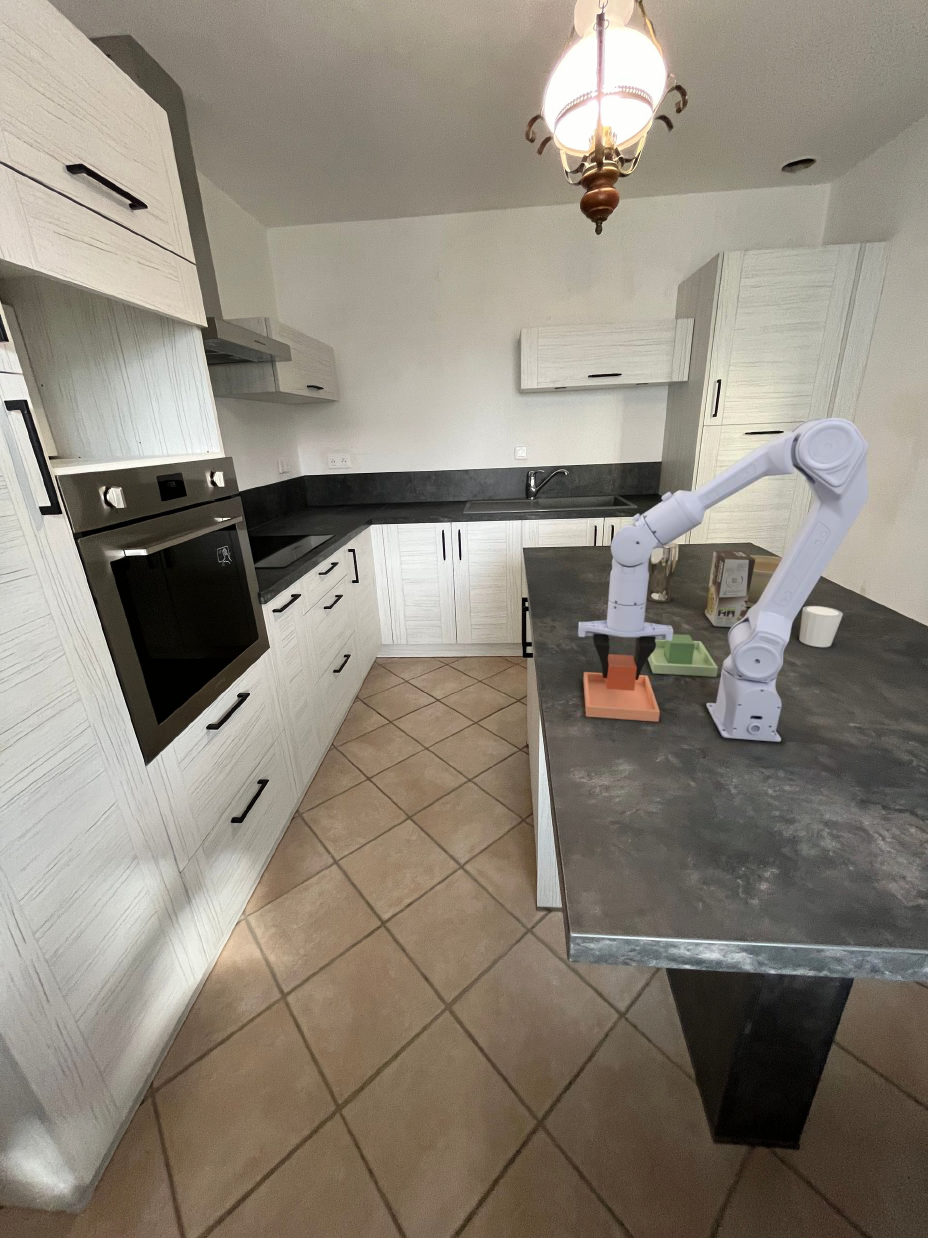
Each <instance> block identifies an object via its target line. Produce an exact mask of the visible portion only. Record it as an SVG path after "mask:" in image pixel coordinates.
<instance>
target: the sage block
mask: <svg viewBox="0 0 928 1238" xmlns="http://www.w3.org/2000/svg"><path fill="white" fill-rule="evenodd" d="M693 641H694V640H693V638H692V637H691V635H690V634H678V633H677V634H676V633H673V637H672V641H665V648H664V655H665V657H666V660H667V662H668V663H676V664H692V660H693V653H694V646H695V643H694V642H693Z"/></svg>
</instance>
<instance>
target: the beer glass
mask: <svg viewBox="0 0 928 1238" xmlns="http://www.w3.org/2000/svg"><path fill="white" fill-rule="evenodd" d="M679 546H680V545H679V544H678V543H676V542H673V541H672V542H670V543H668V544H667V545H665V546H664V547H662V548H655V549H653V550H652V553H651V556H650V557H649V563H648V572H649V586H648V590H647V599H646V600H649V601H651V602H654V603H668V602H670V601H671V600H672V594H671V593H672V592H671V590H672V589H671V588H672V583H673V580H674V576H675V572H676V570H677V566H678V561H679Z"/></svg>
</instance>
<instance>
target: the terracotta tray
mask: <svg viewBox="0 0 928 1238" xmlns="http://www.w3.org/2000/svg"><path fill="white" fill-rule="evenodd" d="M583 694H584V706H585V707H584V709H585V717H589V718H600V719H601V718H602V719H616V720H629V721H630V720H631V721H642V722H643V721H644V722H654V723H655V722H659V721H660V708H659V705H658V702H657V700H656V696H655V693H654V690H653V687H652V684H651V680H650V679H649V675H644V674H643V675H642V674H640V675H639V678H638V680H635V689H634V691H632V690H616V689H607V687H606V681H605V678H603V676H602V672H592V671H591V672H590V671H589V672H588V671H584V672H583Z"/></svg>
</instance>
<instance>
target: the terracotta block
mask: <svg viewBox="0 0 928 1238" xmlns="http://www.w3.org/2000/svg"><path fill="white" fill-rule="evenodd" d="M634 658H635V655H631V654H630V655H628V654H613V653H611V654H610V653H609V655H608V672H607V678H605V681H606V687H607V689H616V690H632V691H634V689H635V679H636V670H637V666H636V663H635V660H634Z"/></svg>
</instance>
